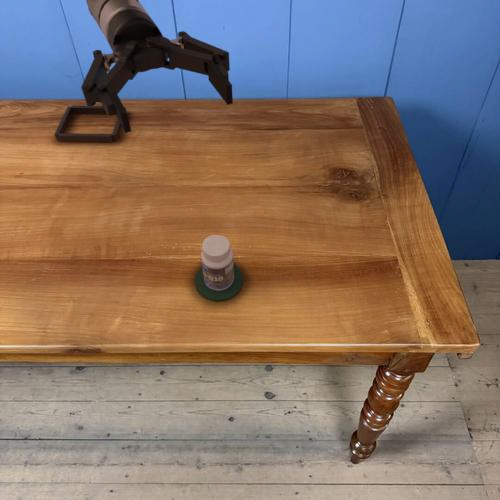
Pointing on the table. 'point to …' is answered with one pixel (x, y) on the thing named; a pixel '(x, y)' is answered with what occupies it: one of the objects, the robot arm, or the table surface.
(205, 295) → the mat
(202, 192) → the table surface
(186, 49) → the robot arm
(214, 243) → the pill bottle
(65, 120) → the dark brown rectangular frame
